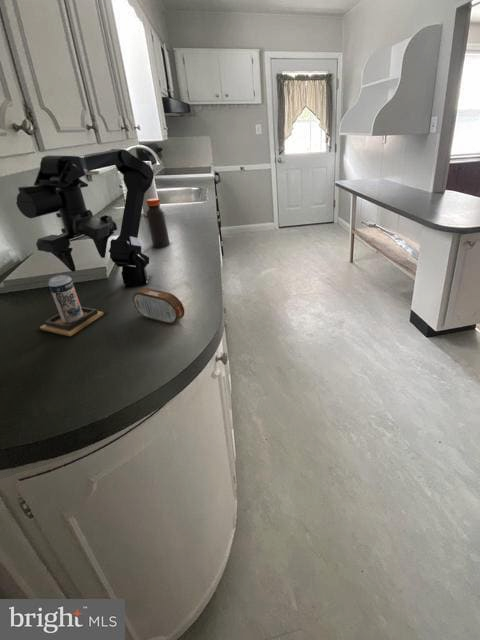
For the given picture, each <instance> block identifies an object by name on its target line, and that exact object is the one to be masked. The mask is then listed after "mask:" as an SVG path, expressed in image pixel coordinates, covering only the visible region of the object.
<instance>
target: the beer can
mask: <svg viewBox="0 0 480 640" xmlns="http://www.w3.org/2000/svg"><path fill="white" fill-rule="evenodd" d="M47 285H48V287H49V289H50V292H51V295H52V297H53V300H54V303H55V305H56V306H55V307H56V309H57V311H58V314H60V317H61V320H62V322H65V323H71V322H75V321H77V320H79V319H80V318H81V317H82V316H83V312H82V309H81V307H82V305H81V303H80V299H79V296H78V293H77V291H76V288H75V285H74V282H73V278H72V277H70V276H69V275H68V274H58V275H56V276H53V277H51V278H50V279H49V281H48V284H47Z"/></svg>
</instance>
